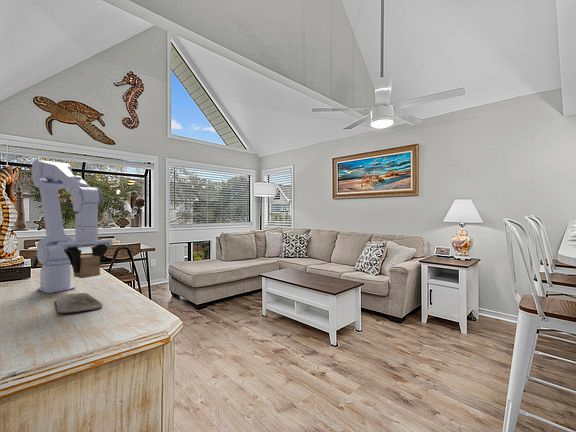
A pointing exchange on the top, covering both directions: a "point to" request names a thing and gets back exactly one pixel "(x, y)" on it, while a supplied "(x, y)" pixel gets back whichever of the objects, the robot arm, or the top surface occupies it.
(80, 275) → the walnut block
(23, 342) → the top surface
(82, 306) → the stone
